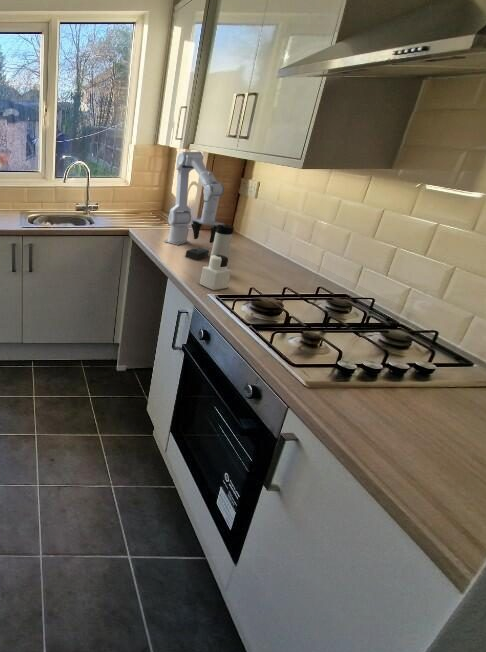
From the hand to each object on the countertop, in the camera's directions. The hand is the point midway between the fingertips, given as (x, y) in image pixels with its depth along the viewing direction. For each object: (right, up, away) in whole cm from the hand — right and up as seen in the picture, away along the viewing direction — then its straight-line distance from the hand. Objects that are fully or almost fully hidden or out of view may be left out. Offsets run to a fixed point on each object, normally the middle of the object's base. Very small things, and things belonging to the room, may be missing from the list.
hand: (203, 240), depth 190 cm
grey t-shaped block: (-1, -7, +2) cm, 7 cm away
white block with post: (-11, -22, -32) cm, 40 cm away
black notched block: (-4, -8, 0) cm, 9 cm away
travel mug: (-3, -16, -17) cm, 24 cm away
